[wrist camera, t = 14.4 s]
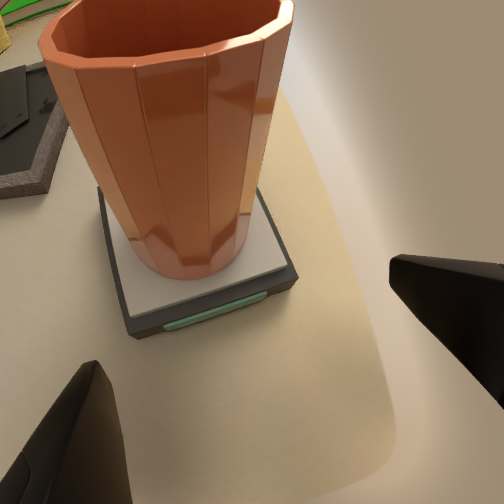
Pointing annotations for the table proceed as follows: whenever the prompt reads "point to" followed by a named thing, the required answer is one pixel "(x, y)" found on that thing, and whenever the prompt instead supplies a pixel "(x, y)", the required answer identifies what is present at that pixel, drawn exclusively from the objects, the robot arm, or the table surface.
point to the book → (29, 9)
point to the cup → (172, 116)
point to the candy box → (3, 36)
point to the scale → (200, 290)
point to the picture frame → (29, 131)
